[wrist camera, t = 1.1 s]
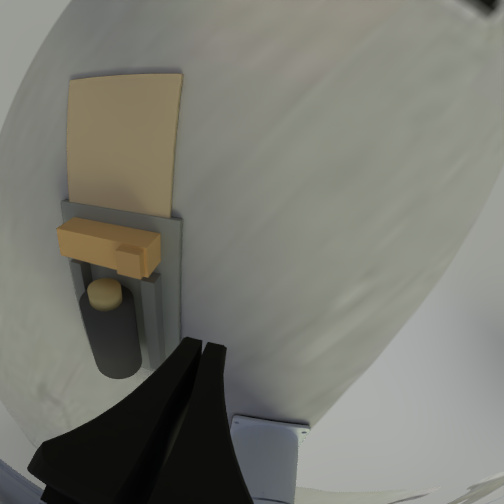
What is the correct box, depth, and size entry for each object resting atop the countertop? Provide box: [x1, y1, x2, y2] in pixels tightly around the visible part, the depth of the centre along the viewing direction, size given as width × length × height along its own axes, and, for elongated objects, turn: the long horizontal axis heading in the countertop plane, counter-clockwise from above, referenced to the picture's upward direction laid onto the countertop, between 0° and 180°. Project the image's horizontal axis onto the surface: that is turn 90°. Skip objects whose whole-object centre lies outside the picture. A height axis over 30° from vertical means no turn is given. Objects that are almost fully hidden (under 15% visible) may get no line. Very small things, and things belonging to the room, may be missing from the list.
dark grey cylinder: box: [79, 278, 142, 379], centre depth 20 cm, size 7×4×4 cm, turn 172°
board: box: [61, 74, 183, 371], centre depth 19 cm, size 24×10×2 cm, turn 172°
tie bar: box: [57, 217, 161, 280], centre depth 17 cm, size 2×7×3 cm, turn 82°
